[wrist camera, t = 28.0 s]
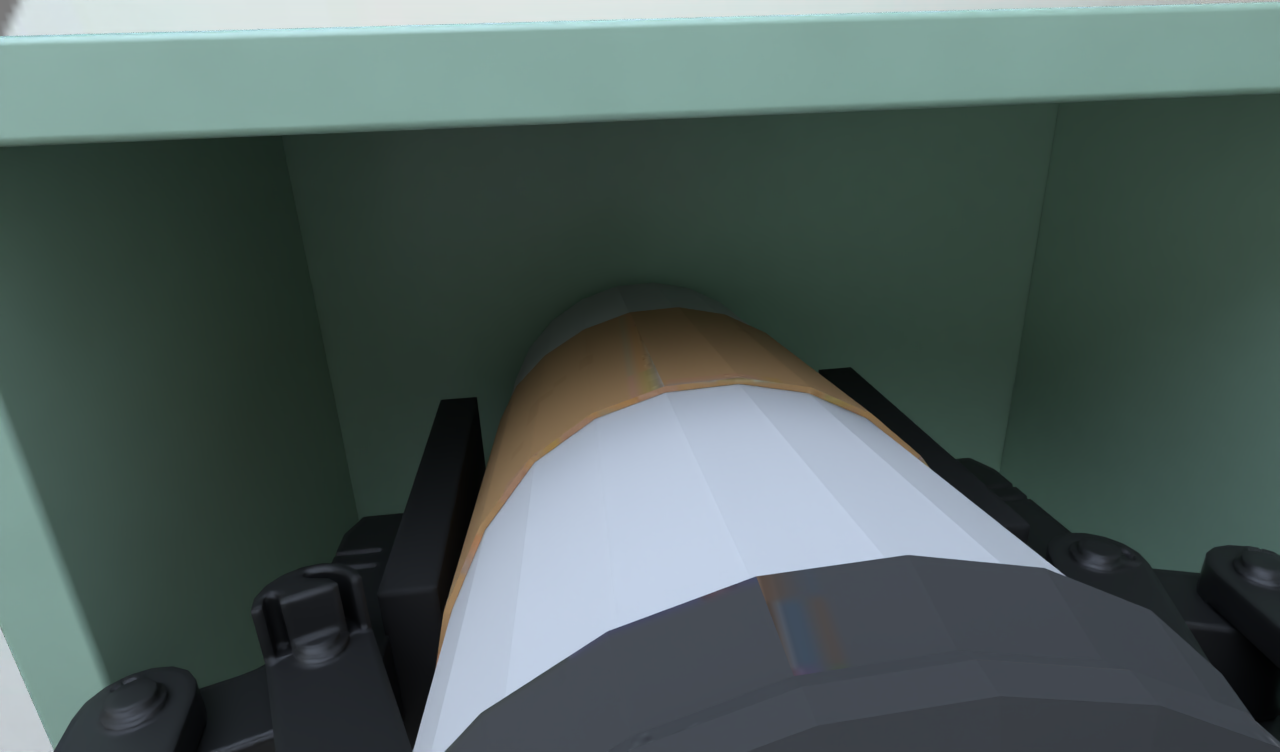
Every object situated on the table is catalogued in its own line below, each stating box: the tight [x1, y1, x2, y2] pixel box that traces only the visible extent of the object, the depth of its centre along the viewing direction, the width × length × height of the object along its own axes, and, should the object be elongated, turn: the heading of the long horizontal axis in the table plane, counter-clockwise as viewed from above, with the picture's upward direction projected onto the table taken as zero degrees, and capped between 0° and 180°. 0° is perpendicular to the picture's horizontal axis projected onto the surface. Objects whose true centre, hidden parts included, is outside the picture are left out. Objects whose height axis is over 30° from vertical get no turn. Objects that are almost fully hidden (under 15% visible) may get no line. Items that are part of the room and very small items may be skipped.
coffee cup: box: [413, 283, 1280, 752], centre depth 11 cm, size 8×8×15 cm
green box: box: [0, 2, 1280, 751], centre depth 15 cm, size 20×16×11 cm
